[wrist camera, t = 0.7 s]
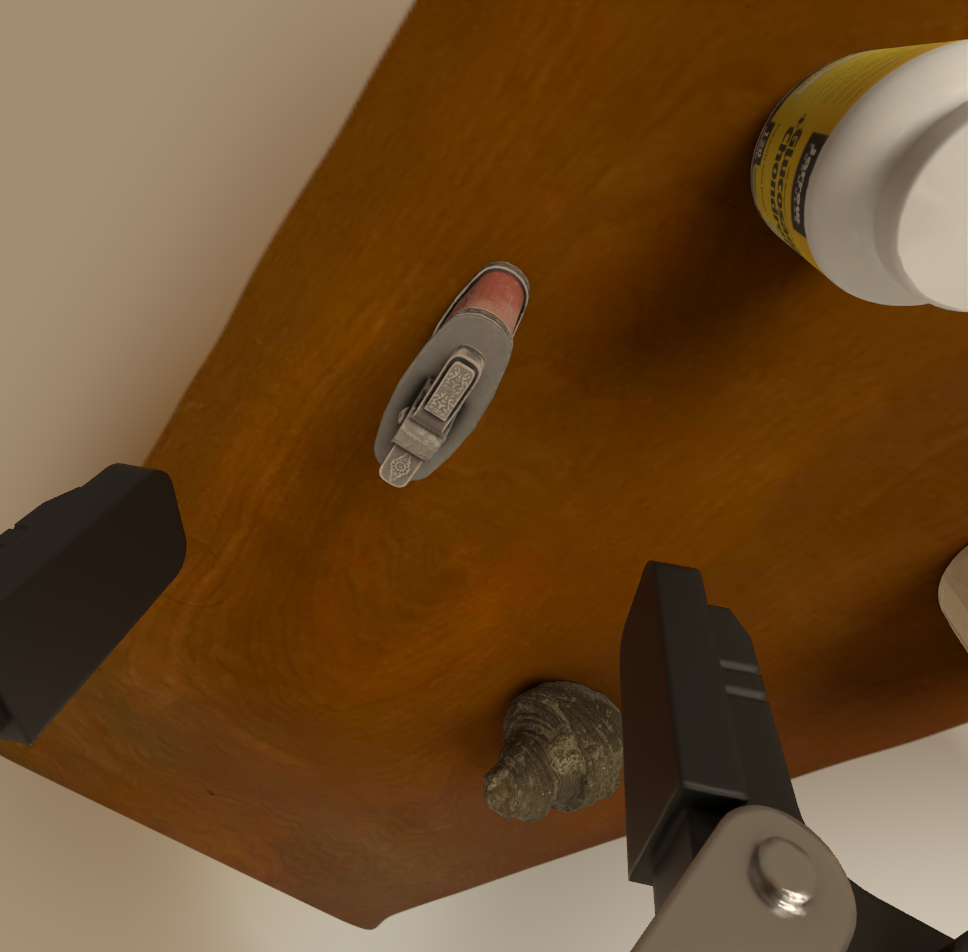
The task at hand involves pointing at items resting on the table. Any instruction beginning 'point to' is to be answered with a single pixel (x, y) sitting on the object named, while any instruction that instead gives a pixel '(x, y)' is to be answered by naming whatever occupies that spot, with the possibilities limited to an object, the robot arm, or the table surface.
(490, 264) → the lighter
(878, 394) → the table surface
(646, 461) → the table surface
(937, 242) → the pill bottle
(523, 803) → the seashell
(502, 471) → the table surface
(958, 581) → the pot
